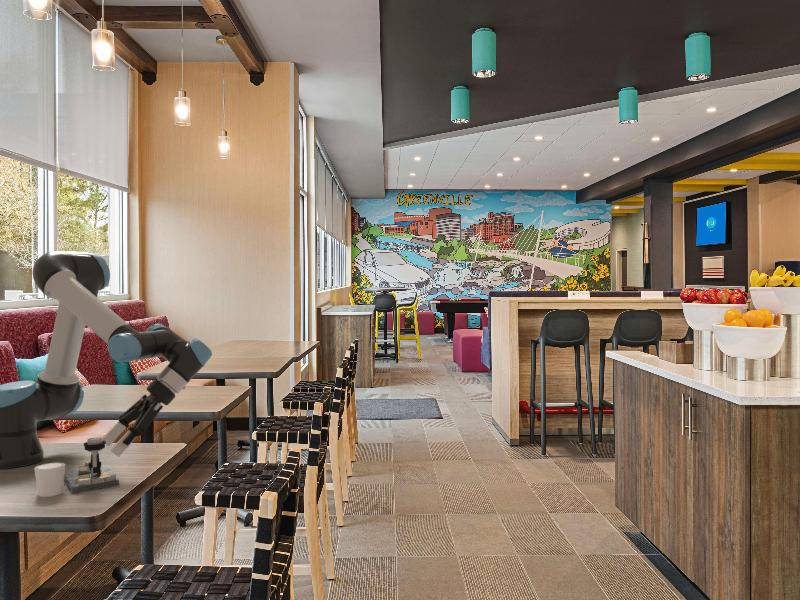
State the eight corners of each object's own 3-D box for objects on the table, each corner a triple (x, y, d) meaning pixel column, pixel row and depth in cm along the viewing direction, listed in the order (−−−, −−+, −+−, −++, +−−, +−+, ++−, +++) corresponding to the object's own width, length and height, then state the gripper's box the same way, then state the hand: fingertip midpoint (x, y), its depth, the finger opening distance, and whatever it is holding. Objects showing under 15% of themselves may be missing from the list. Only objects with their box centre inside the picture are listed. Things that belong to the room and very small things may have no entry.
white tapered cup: (58, 487, 166) (58, 460, 166) (70, 492, 162) (70, 465, 162) (30, 493, 161) (29, 466, 161) (41, 499, 157) (41, 471, 156)
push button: (105, 479, 166) (105, 441, 166) (82, 482, 164) (82, 443, 164) (106, 472, 173) (106, 435, 172) (85, 475, 171) (84, 437, 170)
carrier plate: (63, 478, 173) (63, 463, 173) (107, 471, 180) (107, 457, 180) (72, 493, 161) (72, 477, 161) (119, 485, 167) (118, 469, 167)
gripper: (189, 401, 170) (130, 467, 161) (164, 389, 190) (111, 447, 182) (168, 383, 166) (107, 449, 158) (145, 373, 187) (90, 431, 179)
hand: (109, 448), depth 170 cm, fingers open, 13 cm apart
